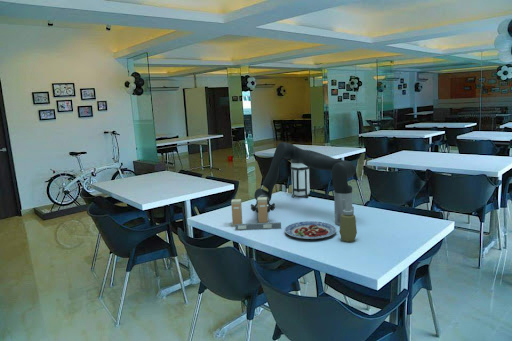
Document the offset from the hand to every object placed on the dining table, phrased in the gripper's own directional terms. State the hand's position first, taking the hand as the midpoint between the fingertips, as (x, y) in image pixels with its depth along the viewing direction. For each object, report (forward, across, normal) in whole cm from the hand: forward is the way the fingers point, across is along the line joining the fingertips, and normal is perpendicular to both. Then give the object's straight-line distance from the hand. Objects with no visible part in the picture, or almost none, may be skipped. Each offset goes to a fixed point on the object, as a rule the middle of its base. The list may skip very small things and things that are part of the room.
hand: (262, 211), depth 211 cm
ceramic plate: (+13, +24, +9) cm, 28 cm away
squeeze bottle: (+25, +40, +9) cm, 48 cm away
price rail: (+4, -3, +8) cm, 10 cm away
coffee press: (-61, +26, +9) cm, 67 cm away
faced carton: (-4, -14, +9) cm, 17 cm away
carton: (-3, 0, +8) cm, 8 cm away
